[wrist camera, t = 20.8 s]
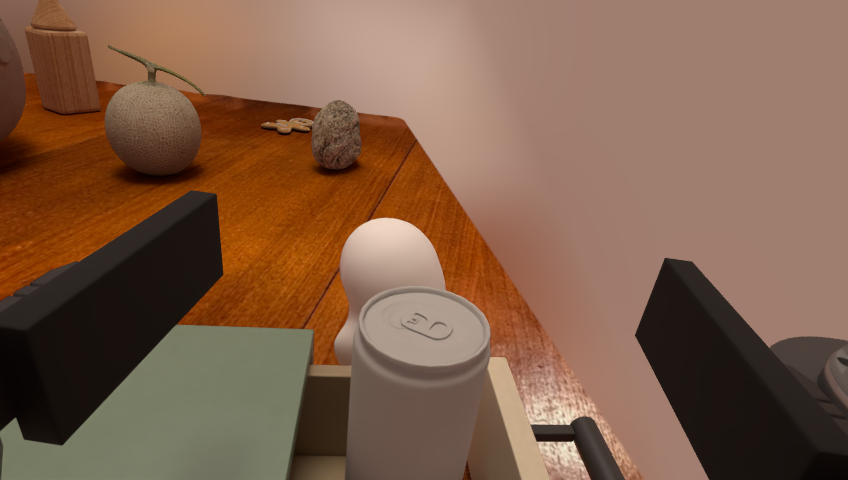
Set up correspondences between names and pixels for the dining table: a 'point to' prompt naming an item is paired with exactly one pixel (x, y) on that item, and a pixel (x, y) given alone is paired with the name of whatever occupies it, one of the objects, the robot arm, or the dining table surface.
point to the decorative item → (61, 61)
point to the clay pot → (10, 84)
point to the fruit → (153, 124)
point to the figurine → (382, 269)
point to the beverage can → (415, 385)
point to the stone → (336, 136)
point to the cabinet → (186, 413)
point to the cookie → (289, 125)
